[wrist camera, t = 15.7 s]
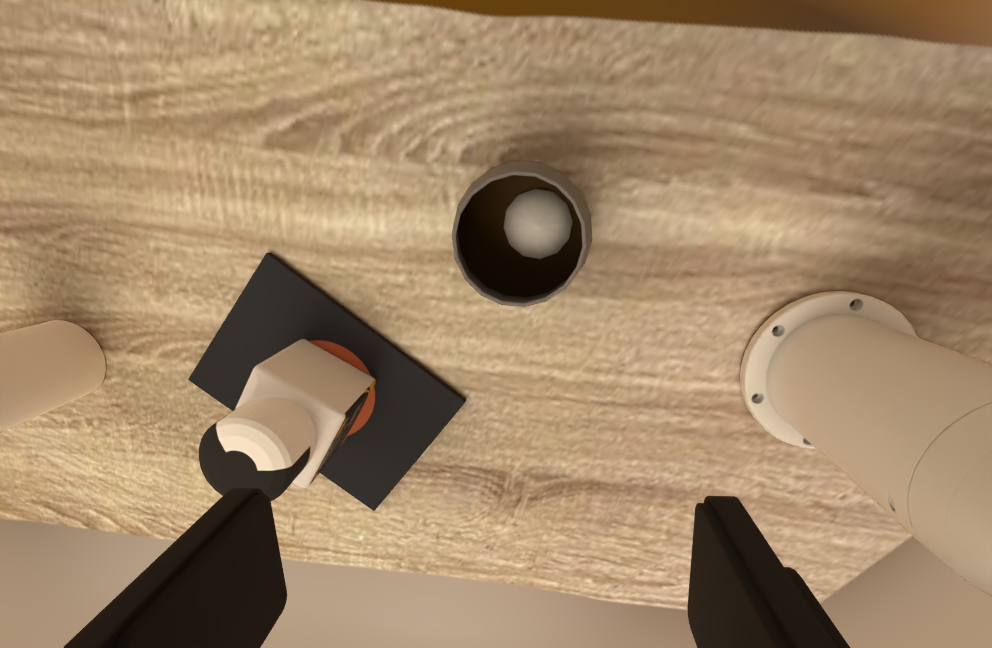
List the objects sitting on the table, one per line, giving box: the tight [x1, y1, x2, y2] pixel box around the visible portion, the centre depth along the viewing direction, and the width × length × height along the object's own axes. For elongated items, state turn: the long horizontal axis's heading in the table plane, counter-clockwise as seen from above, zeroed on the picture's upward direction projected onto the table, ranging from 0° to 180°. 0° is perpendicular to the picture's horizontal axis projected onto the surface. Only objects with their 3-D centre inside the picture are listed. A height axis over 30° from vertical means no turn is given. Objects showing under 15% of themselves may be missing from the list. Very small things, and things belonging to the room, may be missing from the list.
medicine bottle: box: [199, 339, 376, 501], centre depth 35 cm, size 7×7×12 cm
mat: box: [188, 253, 466, 511], centre depth 41 cm, size 20×14×1 cm
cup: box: [452, 161, 592, 307], centre depth 31 cm, size 10×9×10 cm
